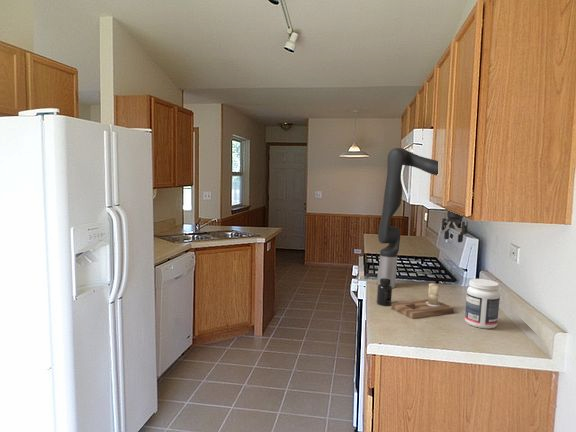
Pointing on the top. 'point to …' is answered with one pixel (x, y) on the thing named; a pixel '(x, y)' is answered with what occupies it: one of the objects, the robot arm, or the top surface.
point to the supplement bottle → (384, 292)
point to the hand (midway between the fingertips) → (453, 240)
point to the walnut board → (421, 308)
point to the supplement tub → (482, 303)
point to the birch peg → (433, 294)
